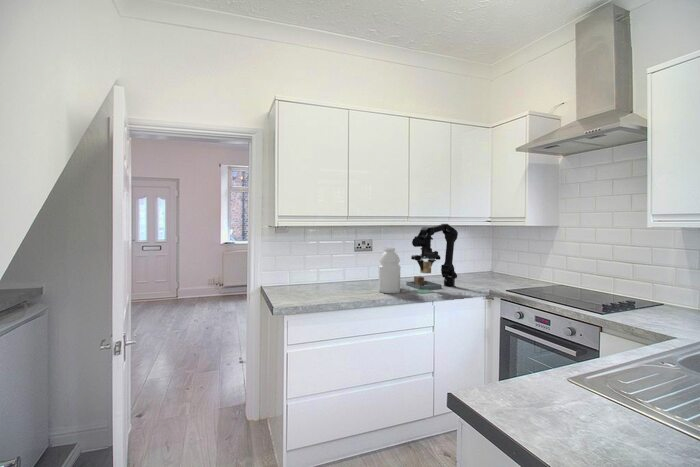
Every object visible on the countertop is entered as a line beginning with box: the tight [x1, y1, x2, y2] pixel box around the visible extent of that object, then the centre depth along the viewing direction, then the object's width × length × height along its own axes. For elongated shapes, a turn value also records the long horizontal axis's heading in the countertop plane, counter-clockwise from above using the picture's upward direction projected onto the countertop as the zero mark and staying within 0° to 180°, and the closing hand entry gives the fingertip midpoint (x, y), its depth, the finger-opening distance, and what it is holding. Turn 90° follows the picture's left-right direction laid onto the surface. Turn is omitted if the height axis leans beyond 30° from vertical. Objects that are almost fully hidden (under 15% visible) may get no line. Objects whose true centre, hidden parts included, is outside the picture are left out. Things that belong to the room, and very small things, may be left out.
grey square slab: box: [406, 280, 443, 290], centre depth 229 cm, size 16×18×3 cm
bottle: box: [378, 247, 401, 294], centre depth 215 cm, size 14×14×28 cm
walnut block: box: [413, 275, 425, 286], centre depth 234 cm, size 5×5×6 cm
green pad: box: [412, 289, 436, 295], centre depth 212 cm, size 10×10×1 cm
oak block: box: [419, 260, 432, 274], centre depth 218 cm, size 5×5×7 cm
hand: (425, 270), depth 218 cm, fingers closed on oak block, 5 cm apart
